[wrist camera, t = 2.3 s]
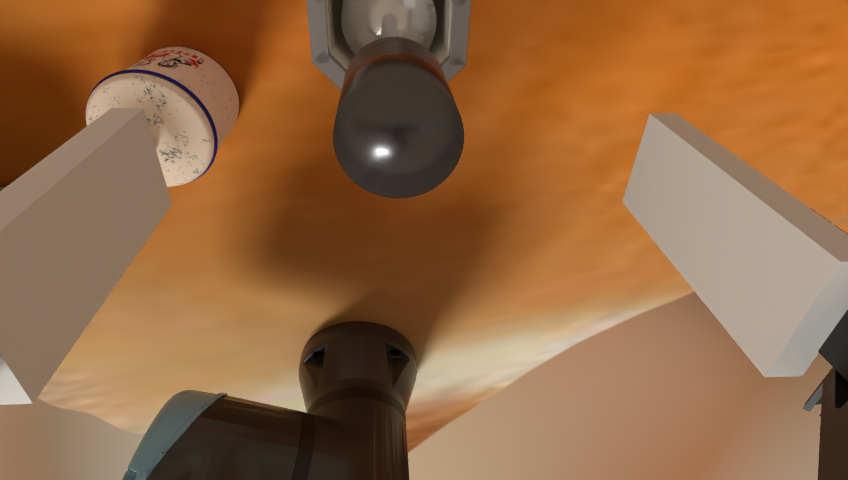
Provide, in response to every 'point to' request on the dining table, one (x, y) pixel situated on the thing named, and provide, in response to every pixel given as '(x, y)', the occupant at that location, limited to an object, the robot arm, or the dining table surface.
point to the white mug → (336, 54)
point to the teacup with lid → (175, 107)
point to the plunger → (395, 101)
